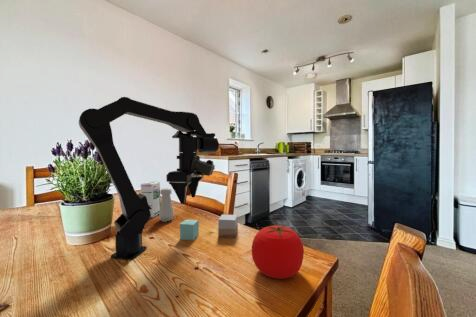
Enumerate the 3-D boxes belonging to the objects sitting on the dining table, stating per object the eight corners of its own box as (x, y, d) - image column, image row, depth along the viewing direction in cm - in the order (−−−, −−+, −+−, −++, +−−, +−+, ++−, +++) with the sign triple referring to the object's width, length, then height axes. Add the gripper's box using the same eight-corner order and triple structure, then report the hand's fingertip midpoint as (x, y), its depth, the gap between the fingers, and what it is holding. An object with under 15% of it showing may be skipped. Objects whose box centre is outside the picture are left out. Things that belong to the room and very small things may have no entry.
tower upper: (235, 229, 66) (235, 220, 66) (218, 228, 67) (218, 219, 67) (237, 223, 72) (237, 215, 72) (222, 222, 72) (222, 214, 72)
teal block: (193, 240, 65) (193, 224, 65) (180, 239, 65) (179, 224, 65) (198, 234, 69) (198, 220, 69) (186, 233, 70) (185, 219, 70)
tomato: (278, 296, 39) (278, 242, 39) (241, 268, 49) (241, 225, 49) (315, 274, 46) (315, 228, 46) (276, 253, 56) (276, 215, 56)
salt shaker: (164, 223, 80) (163, 190, 79) (156, 220, 83) (155, 188, 83) (176, 219, 84) (176, 188, 84) (168, 217, 88) (168, 186, 87)
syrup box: (153, 217, 87) (152, 183, 87) (141, 216, 88) (140, 183, 88) (161, 213, 93) (160, 181, 92) (149, 213, 94) (148, 181, 93)
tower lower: (234, 238, 66) (234, 229, 66) (218, 237, 67) (218, 228, 67) (237, 232, 71) (237, 223, 71) (222, 231, 72) (222, 222, 72)
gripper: (203, 152, 57) (203, 208, 57) (218, 152, 75) (218, 195, 76) (165, 152, 58) (165, 207, 59) (189, 152, 77) (189, 194, 77)
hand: (188, 200), depth 67 cm, fingers open, 9 cm apart
